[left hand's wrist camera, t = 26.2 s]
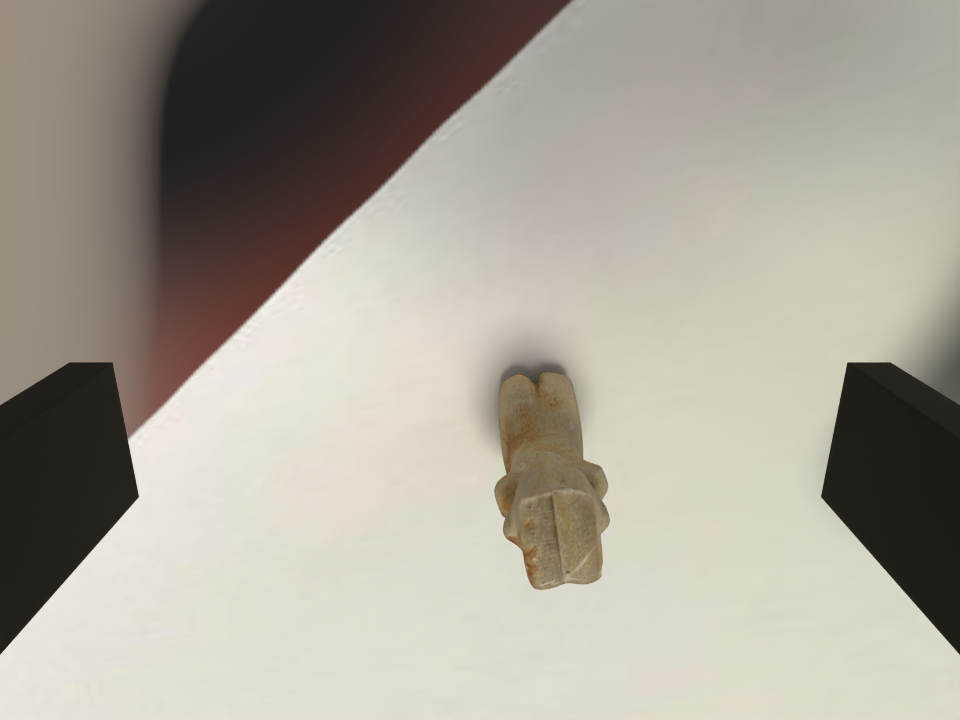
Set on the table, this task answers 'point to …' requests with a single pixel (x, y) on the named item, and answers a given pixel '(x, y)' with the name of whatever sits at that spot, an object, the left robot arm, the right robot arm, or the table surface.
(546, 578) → the sculpture
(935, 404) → the left robot arm
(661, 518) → the table surface
